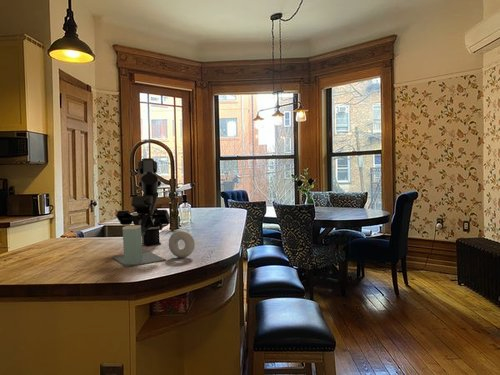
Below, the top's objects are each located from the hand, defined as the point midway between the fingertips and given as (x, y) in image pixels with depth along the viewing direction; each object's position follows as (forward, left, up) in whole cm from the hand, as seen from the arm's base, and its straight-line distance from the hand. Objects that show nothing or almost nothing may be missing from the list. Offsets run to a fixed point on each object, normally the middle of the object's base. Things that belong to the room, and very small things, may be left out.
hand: (137, 236), depth 130 cm
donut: (-14, +6, -9) cm, 18 cm away
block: (+3, +3, -8) cm, 9 cm away
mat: (-1, -3, -9) cm, 9 cm away
